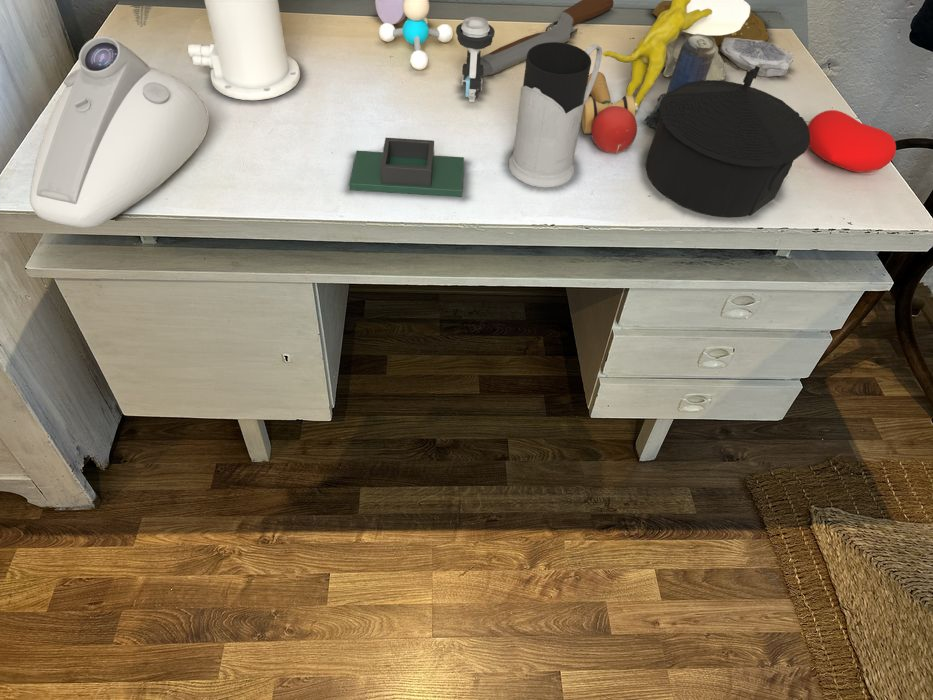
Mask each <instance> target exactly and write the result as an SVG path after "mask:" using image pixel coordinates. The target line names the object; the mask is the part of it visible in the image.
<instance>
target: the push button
mask: <svg viewBox="0 0 933 700" xmlns="http://www.w3.org/2000/svg"><path fill="white" fill-rule="evenodd" d="M455 33H456V37H457V38H456V40H457V41H458V43H459V45H460V46H462V47H463V48H464V49H465V48H466V49H467V51H466V60H465V61H466V62H465V63H463V64H462V68H461V69H462V71H461V74H462V76H463V77H462V78H461V84H464V83H465V98H466V99H467V98H468V102H471V103H472V102H473V103H474V102H475V99H477V98H478V93H481V92H482V91H483V85H482V84H483V79H484V78H482V77H484V76H483V70H484V67H483V65H480V61H481V58H480V57H482V55H481V54H482V51H481V50H483V49H486V48H487V47H489V46H491V45H492V43H493V38H494V37H495V28H494V27H493V26H492V25H491V24H490V23H489V21H488V20H487V19H485V18H483V17H480V16H470V17H466V18H464V19H463V21H462V22H461V23H459V24H458V25H457V26H456V28H455Z"/></svg>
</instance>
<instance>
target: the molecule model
mask: <svg viewBox="0 0 933 700" xmlns="http://www.w3.org/2000/svg"><path fill="white" fill-rule="evenodd" d="M403 11H404V13H405V15H406V17H407V19H406V20H405V22H404V23H403V25H402V27H399V28H396V27H395V26H394V24H393V25H392V24H390V23H384V22H383V23H382V24H381V25H380V26H379V28H378V36H379V38H380V39H381V40H382V41H384V42H386V43H389V42H392V41H394V39H396V37H400V36H403V38H404V39H405V41H406V42H407V43H408V44H409V45H413V46H414V47H413V48H414V49H413V50H414V51H413V52H412V53H411V54H410V57H409V62H410V66H412V68H413V69H414V70H417V71H421V70H424V69H425V68H426V67H427V66H428V64H429V57H428V55H427V53H426V52H425V51H423V50H421V49H422V48H421V45H423V44H424V43H425V42H426V41H427V39H428V37H429V36H430V37H433V38H436V39H437V40H438V41H439V42H441V43H445V44H446V43H448V42H450V41H451V40H452V39H453V37H454V30H453V28H452V26H451V25H449V24H448V23H441V24H439V25H438V26H437V27H436V29H434V28H430V27H429V25H428V24H427V23H426V22H425V21H424V20H423V19H424V18H425V17H427V16H428V14H429V11H430V2H429V0H403Z"/></svg>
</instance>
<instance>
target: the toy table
mask: <svg viewBox="0 0 933 700" xmlns="http://www.w3.org/2000/svg"><path fill="white" fill-rule="evenodd" d="M374 2H375V10H376V14H377V16H378V17H379V19H380V21H382V22H383V24H384V23H390V24H392V25H393V26H394V25H396V24H400V23H401V22H403V21H404V19H405V18H406V17H407V16H406V15H405V13H404V11H403V0H375V1H374ZM423 20H424V21H425V22H426V23H427V25H428V24H429V20H428V17H427V16H426V17H425V18H424V19H423Z"/></svg>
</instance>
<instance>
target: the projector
mask: <svg viewBox="0 0 933 700" xmlns="http://www.w3.org/2000/svg"><path fill="white" fill-rule="evenodd" d="M78 63H79V65H80V68H79V69H75V70H74V71H72V72H70V73H69V74H68V75H67V77H66V78H65V79H64V80H63V84H64V85H65V86H66V87H64V90H63V91H62V92H61V94H60V96H59V98H58V99H57V101H56V103H55V105H54V107H53V110H52V112H51V114H50V116H49V118H48V121H47V124H46V126H45V129H44V132H43V135H42V138H41V141H40V144H39V148H38V151H37V152H38V153H37V156H36V159H35V164H34V168H33V172H32V176H31V177H32V178H31V184H30V189H29V204H30V206H31V209H32V210H33V212H34V214H35V215H36V216H37V217H39V218H40V219H42V220H45V221H48V222H51V223H56V224H58V225H59V224H60V225H63V226H64V225H65V226H70V227H77V228H82V229H90V228H91V229H92V228H96V227H99V226H101V225H103V224H105V223H107V222H108V221H111V220H112V219H114V218H116V217H117V216H119V215H121V214H122V213H124V212H125V211H127V210H128V209H129V208H131V207H132V206H135V204H137V203H139V202H140V201H141V200H143V199H144V198H145V197H147V196H148V195H150V193H152V192H153V191H155V189H157V188H158V187H160V186H161V185H162V184H163V183H164V182H166V181H167V180H168V179H169V178H170V177H171V176H172V175H173V174H174V173H175V172H177V170H178V169H180V168H181V167H182V166H183V164H185V162H187V160H188V159H190V157H191V156H192V155H193V154H194V153H195V152H196V151H197V149H198V148H199V147H200V145H201V143H202V142H203V141H204V139H205V137H206V135H207V132H208V128H209V113H208V109H207V106H206V104H205V102H204V100H203V99H202V98H201V96H200V95H199V93H197V91H196V90H194V89H193V87H191V86H190V85H189V84H187V83H186V82H184V81H183V80H181V79H179V78H177V77H175V76H174V75H172V74H169V73H167V72H166V71H162V70H159V69H157V68H155V67H151V66H149V65H148V63H146V62H145V60H143V59H142V58H141V57H140V56H139V55H137V54H136V53H135V52H134V51H132V49H130V48H128V47H127V46H126V45H125V44H123V43H121V42H119V41H118V40H116V39H115V38H113V37H110V36H104V35H102V36H101V35H99V36H96V37H94V38H91V39H90V40H89V39H88V41H87V42H85V43H84V44H83V46H82V47H81V49H80V51H79V53H78Z"/></svg>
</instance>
